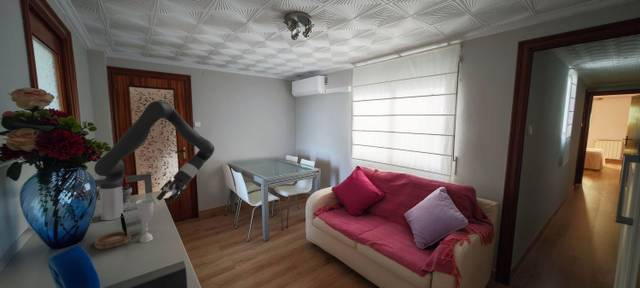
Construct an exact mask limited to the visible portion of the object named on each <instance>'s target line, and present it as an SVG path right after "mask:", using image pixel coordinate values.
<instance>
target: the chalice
mask: <svg viewBox="0 0 640 288" xmlns="http://www.w3.org/2000/svg"><path fill="white" fill-rule="evenodd" d="M155 201H156V200H155V199H154V198H143V199H138V200H136V202H135V203H136V205H137V214H138V217H139V219H140V220H141V221H142V222H144V225H143V227H144V228H143V231H144V233H143V234H142V235H140V236H141V237H140V239H139V242H140V243H146V242H150V241H152V240H153V239H154V237H153V235H152V233H149V232H148V230H149V228H148V226H149V224H148V221H150V220H151V218H152V216H153V214H154V212H155V210H154V207H155V206H154V205H155Z"/></svg>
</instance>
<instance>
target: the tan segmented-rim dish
mask: <svg viewBox="0 0 640 288" xmlns="http://www.w3.org/2000/svg"><path fill="white" fill-rule="evenodd" d="M124 231H125V230H119V231H118V230H117V231H113V232H109V233H106V234H102V235H101V236H98V237H96V239H95V240H94V242H93V244H94V246H95V249H98V250H99V249H101V250H106V249H112V248H116V247H118V246H122V245H124V244H126V243H129V242H130V240H131V238H132V232H130V233H128V235H127V236H126V235H125V232H124Z"/></svg>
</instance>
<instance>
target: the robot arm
mask: <svg viewBox="0 0 640 288" xmlns="http://www.w3.org/2000/svg"><path fill="white" fill-rule="evenodd" d="M160 119H165V121H168V122H170V124H172V125H173V126H174V128H175V129H176V131H177V132H178V134H179V136H180V137H182V139H184V140H185V141H186V142H187V143H188V144H189V145H191V146H193V147H195V148H197V149H198V151H197V152H196V153H195V155H193V156H191V157H190V158H189V159H188V161H187V162H185V164H183V165H182V166H181V168H179V170H178V171H177V172H176V173H175V174H174V175H173V177H172V178H173V180H170V179H169V180H168V181H166V183H165V184H164V185H162V187H161V188H160V191H161V192H160V193H159V194H158V195H157V196H156V198H155V199H156V200H158V201H162V200H163V198H164V197H165V196H166V195H167V194H168V193H171V195H169V196H168V197H167V199H166V200H165V203H166V204H168V205H170V204H171V203H172V202H173V201H174V200H175V199H176V198H177V197H178V198H180V197H181V196H182V195H183V193H184V192H185V190H186V189H187V188H188V187H187V185H188V184H189V183H190V182H191V180H192V179H193V178H194V177H195V176H196V175H197V173H198V172H199V171H200V169H201V168H202V167H203V165H204V164H205V163H206V162H207V161H208V160H209V159H210V158H211V157H212V156H213V154H214V152H215V146H214V144H213V143H212V142H211V141H210V140H208V139H207V138H206V137H203V136H202V135H201V134H199V132H197V130H195V129H194V128H193V127H191V125H190V124H189V123H187V122H186V121H185V120H184V118H182V116H181V115H180V114H179V112H178V111H177V110H176V109H175V108H174V107H173V106H172V105H171V103H169V102H168V101H165V100H164V101H163V100H154V101H151V102H150V103H149V104H148V105H147V106H146V108H145V109H144V110H143V112H142V113H141V115H140V116H139V118H138V119H137V120H136V121H135V122H134V123H133V124H132V125H131V126H130V127H129V128H128V129H127V130H126V131H125V133H124V134H122V136H121V137H120V139H119V140H118V141H117V142H116V143H115V144H114V145H112V147H111V149H109V150H108V151H107V152H106V153H105V154H104V155H103V156H102V157H100V158H99V159H100V160H97V161H96V163H95V164H94V169H93V170H94V172H95V174H96V175H98V176H101V177H105V178H104V179H103V180H102V181H101V182H100V183H99V197H100V198H99V200H100V201H99V203H100V219H101V221H112V220H117V219H120V218H121V217H120V216H121V213H123V214H124V202H123V201H124V199H123V198H124V196H123V182H124V180H125V163H124V161H123V159H124V158H125V157H127V156H128V155H130V154H132V153H133V152H135V151H137V150H138V149H139V148H140V147H141V146H142V145H143V144H144V143H145V142H146V140H147V139H148V137H149V135H150V131H151V129H152V127H153V126H154V125H155V124H156V123H158V121H160Z"/></svg>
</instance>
